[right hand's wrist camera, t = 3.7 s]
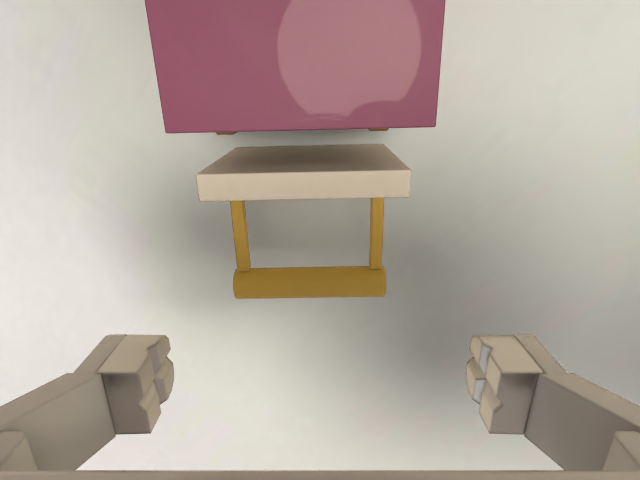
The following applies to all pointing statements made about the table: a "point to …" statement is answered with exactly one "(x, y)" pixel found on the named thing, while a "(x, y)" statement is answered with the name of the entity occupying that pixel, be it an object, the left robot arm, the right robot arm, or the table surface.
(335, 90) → the cabinet
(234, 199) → the drawer
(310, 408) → the table surface
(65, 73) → the table surface
